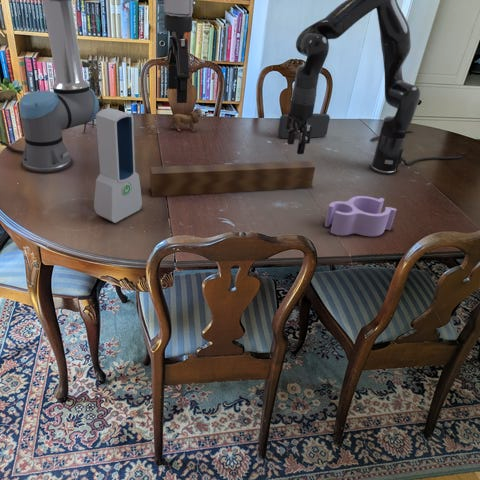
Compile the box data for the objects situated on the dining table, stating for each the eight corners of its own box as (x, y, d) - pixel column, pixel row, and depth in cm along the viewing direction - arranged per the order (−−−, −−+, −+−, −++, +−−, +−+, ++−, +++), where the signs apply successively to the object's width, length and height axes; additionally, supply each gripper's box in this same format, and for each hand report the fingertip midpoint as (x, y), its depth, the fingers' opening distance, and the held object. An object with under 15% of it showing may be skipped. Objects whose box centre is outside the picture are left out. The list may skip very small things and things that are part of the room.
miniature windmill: (102, 136, 185) (96, 56, 168) (82, 132, 186) (74, 53, 169) (112, 128, 192) (107, 52, 176) (92, 125, 193) (86, 49, 177)
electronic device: (112, 224, 131) (106, 120, 115) (93, 216, 134) (84, 113, 118) (143, 208, 140) (140, 109, 124) (124, 200, 143) (119, 103, 127)
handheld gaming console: (323, 134, 210) (328, 113, 204) (326, 137, 208) (331, 115, 202) (276, 136, 203) (280, 113, 197) (279, 138, 201) (282, 115, 195)
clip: (337, 240, 135) (342, 219, 131) (318, 218, 145) (322, 198, 141) (395, 233, 141) (402, 213, 137) (373, 213, 151) (378, 194, 147)
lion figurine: (199, 126, 204) (200, 106, 199) (202, 131, 200) (204, 110, 195) (166, 128, 199) (166, 107, 194) (169, 132, 195) (169, 111, 190)
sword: (408, 129, 227) (409, 127, 226) (413, 131, 225) (414, 129, 224) (366, 140, 211) (366, 138, 210) (371, 143, 209) (371, 140, 208)
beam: (152, 196, 147) (152, 173, 143) (150, 189, 151) (150, 166, 147) (311, 187, 163) (315, 166, 159) (305, 181, 167) (309, 160, 163)
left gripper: (202, 23, 114) (199, 109, 125) (183, 8, 134) (181, 83, 145) (172, 21, 112) (171, 109, 123) (157, 6, 132) (157, 83, 143)
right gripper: (323, 107, 142) (314, 157, 151) (305, 93, 153) (297, 140, 162) (301, 107, 140) (292, 157, 149) (283, 93, 151) (277, 141, 160)
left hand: (177, 95), depth 134 cm, fingers open, 13 cm apart
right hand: (295, 148), depth 155 cm, fingers open, 8 cm apart
